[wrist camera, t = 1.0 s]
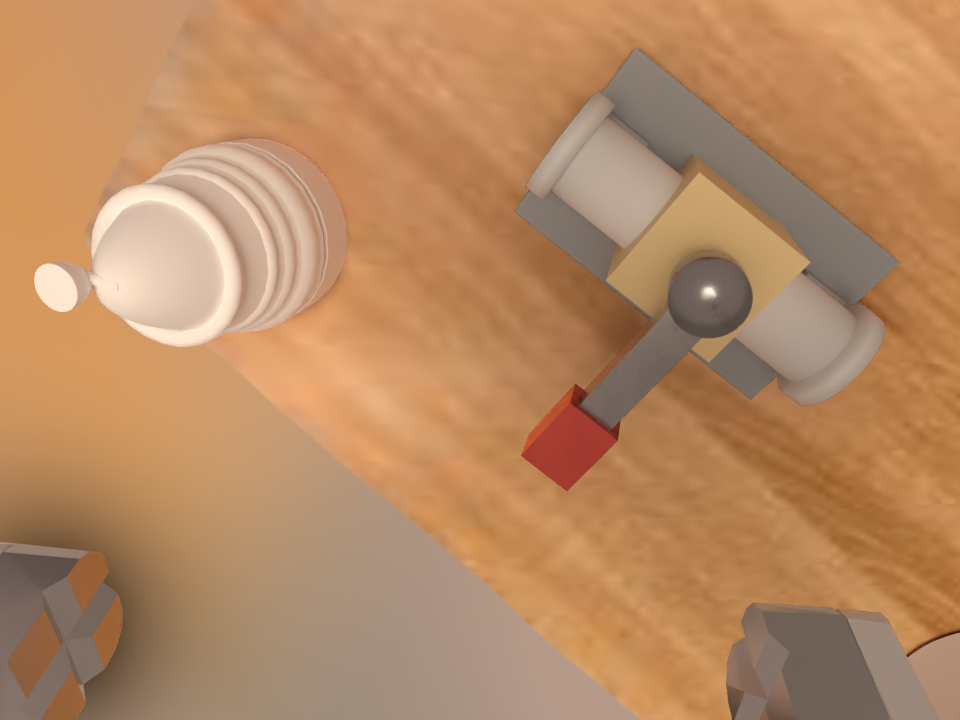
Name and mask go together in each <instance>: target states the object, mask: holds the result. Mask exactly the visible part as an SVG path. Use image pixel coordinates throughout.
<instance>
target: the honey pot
mask: <svg viewBox="0 0 960 720" xmlns="http://www.w3.org/2000/svg"><path fill="white" fill-rule="evenodd" d="M346 250H347V234H346V222H345V218H344V215H343V211H342V208H341V204H340V201H339V199H338V197H337V195H336V194H335V192H334V190H333V188H332V186H331V184H330V183H329V181H328V179H327V178H326V177H325V176H324V175H323V174H322V172H321V171H320V170H319V169H318V168H317V167H316V166H315V165H314V163H313V162H312V161H311V160H309V159H308V158H306V157H305V156H303V155H302V154H300V153H299V152H298V151H296V150H295V149H293V148H292V147H289V146H286V145H284V144H281V143H278V142H275V141H273V140H268V139H253V138H247V139H241V140H234V141H227V142H222V143H216V144H208V145H204V146H200V147H197V148H193V149H189V150H187V151H185V152H183V153H182V154H180V155H179V156H177V157H175V158H174V159H172V160H171V161H169V162H168V163H166V164H165V165H164V167H163V168H162V169H161V171H160V172H159V173H157V174H155V175H154V176H153V177H152V178H150V179H149V180H147V181H146V182H144V183H142V184H138V185H134V186H129V187H126V188H124V189H123V190H121V191H120V192H118V193H117V194H115V195H114V196H112V197H111V198H110V199H109V200H108V201H107V203H106V204H105V205H104V207H103V208H102V209H101V211H100V212H99V214H98V217H97V220H96V223H95V226H94V228H93V231H92V245H91V254H92V258H93V261H92V265H91V272H90V271H87V270H83V269H81V268H80V267H78V266H76V265H73V264H70V263H64V262H57V263H56V262H55V263H48V264H45V265H42V266H40V267H39V268H38V270H37V271H36V273H35V278H34V280H35V281H34V283H35V287H36V291H37V293H38V295H39V297H40V298H41V299H42V301H43V302H44V303H45V304H46V305H47V306H49V307H50V308H52V309H54V310H56V311H60V312H66V311H69V310H71V309H73V308H75V307H76V306H78V305H80V304H81V303H82V302H83V301H84V300H85V298H86V297H87V296H88V294H89V291H90V287H91V284H92V286H93V289H94V292H95V294H96V295H97V297H98V299H99V300H100V301H101V302H102V303H103V304H104V305H105V307H107V308H108V309H109V310H111V311H112V312H114V313H115V314H116V315H118V316H120V317H122V318H123V319H124V320H125V321H126V322H127V324H128V325H130V326H131V327H132V328H134V329H135V330H137V331H139V332H140V333H141V334H143V335H144V336H146V337H148V338H150V339H153V340H155V341H158V342H160V343H163V344H165V345H172V346H179V347H189V346H195V345H202V344H205V343H207V342H209V341H211V340H213V339H215V338H217V337H219V336H220V335H221V334H223V333H229V332H243V333H246V332H253V331H259V330H265V329H270V328H272V327H274V326H276V325H278V324H280V323H282V322H284V321H286V320H288V319H289V318H290V317H292V316H294V315H295V314H297V313H299V312H301V311H302V310H304V309H305V308H307V307H308V306H310V305H311V304H313V303H314V302H316V301H318V300H319V299H320V298H321V297H322V296H323V295H324V294H325V293H326V292H327V291H328V290H329V289H330V288H331V287H332V286H333V285H334V283H335V281H336V279H337V277H338V275H339V274H340V272H341V270H342V267H343V263H344V258H345V254H346Z"/></svg>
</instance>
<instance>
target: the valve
mask: <svg viewBox="0 0 960 720" xmlns="http://www.w3.org/2000/svg"><path fill="white" fill-rule="evenodd" d="M526 188H528V189H529V190H530V191H529V192H528V193H527V195H526V196H525V197H524V199H523V200H522V201H521V203H520V204H519V205H518V207H517V208H516V209H515V211H514V212H515V213H517V214H518V215H519V216H520V217H522V218H523V219H524V220H525V221H527V222H528V223H529V224H530V225H532V226H533V227H534V228H535V229H537V230H538V231H539V232H540V233H542V234H543V235H544V236H545V237H547V238H548V239H549V240H550V241H552V242H553V243H554V244H556V245H557V246H558V247H559V248H561V249H562V250H563V251H564V252H566V253H567V254H568V255H569V256H571V257H572V258H573V259H574V260H576V261H577V262H578V263H579V264H581V265H582V266H583V267H584V268H586V269H587V270H588V271H589V272H591V273H592V274H593V275H595V276H596V277H597V278H598V279H600V280H601V281H602V282H603V283H605V284H606V285H607V286H608V287H610V288H611V289H612V290H613V291H615V292H616V293H617V294H618V295H620V296H621V297H622V298H623V299H625V300H626V301H627V302H628V303H630V304H631V305H632V306H633V307H635V308H636V309H637V310H639V311H640V312H641V313H642V314H644V315H645V316H646V317H647V318H649V319H651V318H652V317H653V316H654V315H655V314H656V313H657V312H658V311H659V310H660V308H661V307H662V306H663V305H664V304H665V303H666V302H667V301H668V281H669V277H670V275H671V273H672V271H673V269H674V268H675V267H676V265H677V264H678V263H679V262H680V261H681V260H682V259H684V258H685V257H687V256H688V255H690V254H693V253H695V252H698V251H703V250H716V251H721V252H724V253H727V254H729V255H731V256H732V257H734V258H735V259H736V260H737V261H738V262H739V263H740V264H741V265H742V267H743V268H744V270H745V272H746V275H747V277H748V280H749V282H750V285H751V288H752V293H753V303H752V308H751V311H750V313H749V315H748V317H747V318H746V320H745V321H744V322H743V324H742V325H741V326H740V327H738V328H737V329H736V330H734V331H733V332H731V333H729V334H727V335H725V336H722V337H718V338H701V339H700V340H699V341H698V342H697V343H696V344H695V345H694V346H693V347H692V348H691V349H690V350H689V351H690V352H691V353H693V354H694V355H695V356H696V357H698V358H699V359H700V360H701V361H703V362H704V363H705V364H706V365H708V366H709V367H710V368H711V369H713V370H714V371H715V372H717V373H718V374H719V375H720V376H722V377H723V378H724V379H725V380H727V381H728V382H729V383H730V384H732V385H733V386H734V387H735V388H737V389H738V390H739V391H740V392H742V393H743V394H744V395H745V396H747V397H748V398H749V399H750V400H751V399H752V398H753V397H754V396H756V395H757V394H758V393H759V392H760V391H761V390H762V389H763V388H764V387H765V386H766V385H767V384H769V383H770V382H771V381H772V380H773V379H774V378H775V377H776V376H777V375H778V374H779V375H778V387H779V389H780V390H781V391H782V392H783V393H785V394H786V395H787V396H788V397H790V398H791V399H792V400H793V401H795V402H796V403H797V404H799V405H803V406H809V405H814V404H817V403H819V402H822V401H824V400H826V399H828V398H830V397H831V396H833V395H835V394H836V393H838V392H839V391H840V390H842V389H843V388H844V387H846V386H847V385H848V384H849V383H850V382H852V381H853V380H854V379H855V378H856V377H857V376H858V375H859V374H860V373H861V372H862V371H863V370H864V368H865V367H866V366H867V365H868V364H869V362H870V361H871V360H872V358H873V357H874V355H875V354H876V352H877V351H878V349H879V347H880V345H881V343H882V340H883V337H884V333H885V325H884V322H883V321H882V320H881V319H880V318H879V317H877V316H876V315H875V314H874V313H873V312H871V311H870V310H869V309H868V308H866V307H865V306H864V305H862V304H855V303H857V302H858V301H859V300H860V299H861V298H862V297H863V296H864V295H865V294H866V293H867V292H869V291H870V290H871V289H872V288H873V287H874V286H875V285H876V284H877V283H878V282H879V281H880V280H882V279H883V278H884V277H885V276H886V275H887V274H888V273H889V272H890V271H891V270H892V269H894V268H895V267H896V266H897V265H898V264H899V263H900V262H899V261H898V260H897V259H895V258H894V257H893V256H892V255H891V254H889V253H888V252H887V251H886V250H884V249H883V248H882V247H881V246H880V245H878V244H877V243H876V242H875V241H873V240H872V239H871V238H870V237H868V236H867V235H866V234H865V233H864V232H862V231H861V230H860V229H859V228H857V227H856V226H855V225H854V224H852V223H851V222H850V221H849V220H848V219H846V218H845V217H844V216H843V215H841V214H840V213H839V212H838V211H837V210H835V209H834V208H833V207H832V206H830V205H829V204H828V203H827V202H825V201H824V200H823V199H822V198H821V197H819V196H818V195H817V194H816V193H814V192H813V191H812V190H811V189H809V188H808V187H807V186H806V185H805V184H803V183H802V182H801V181H800V180H798V179H797V178H796V177H795V176H794V175H792V174H791V173H790V172H789V171H787V170H786V169H785V168H784V167H782V166H781V165H780V164H779V163H778V162H776V161H775V160H774V159H773V158H771V157H770V156H769V155H768V154H766V153H765V152H764V151H763V150H762V149H760V148H759V147H758V146H757V145H755V144H754V143H753V142H752V141H751V140H749V139H748V138H747V137H746V136H744V135H743V134H742V133H741V132H739V131H738V130H737V129H736V128H735V127H733V126H732V125H731V124H730V123H728V122H727V121H726V120H725V119H723V118H722V117H721V116H720V115H719V114H717V113H716V112H715V111H714V110H712V109H711V108H710V107H709V106H708V105H706V104H705V103H704V102H703V101H701V100H700V99H699V98H698V97H696V96H695V95H694V94H693V93H692V92H690V91H689V90H688V89H687V88H685V87H684V86H683V85H682V84H680V83H679V82H678V81H677V80H676V79H674V78H673V77H672V76H671V75H669V74H668V73H667V72H666V71H665V70H663V69H662V68H661V67H660V66H658V65H657V64H656V63H655V62H653V61H652V60H651V59H650V58H649V57H647V56H646V55H645V54H644V53H642V52H641V51H640V50H639V49H637V48H636V49H635V50H634V51H633V53H632V54H631V55H630V57H629V58H628V59H627V61H626V62H625V63H624V65H623V66H622V67H621V69H620V70H619V71H618V73H617V74H616V75H615V77H614V78H613V79H612V81H611V82H610V83H609V85H608V86H607V87H606V89H605V90H604V91H603V93H600V92H599V91H597V92H596V93H595V94H594V95H593V96H592V98H591V99H590V100H589V101H588V102H587V103H586V104H585V106H584V107H583V108H582V109H581V111H580V112H579V113H578V114H577V115H576V117H575V118H574V119H573V121H572V122H571V123H570V124H569V126H568V127H567V128H566V130H565V131H564V132H563V133H562V135H561V136H560V137H559V139H558V140H557V141H556V143H555V144H554V145H553V147H552V148H551V150H550V151H549V152H548V154H547V155H546V156H545V158H544V159H543V161H542V162H541V163H540V165H539V166H538V168H537V169H536V171H535V172H534V174H533V175H532V177H531V178H530V180H529V182H528V183H527V185H526Z"/></svg>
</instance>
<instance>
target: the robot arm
mask: <svg viewBox="0 0 960 720" xmlns="http://www.w3.org/2000/svg"><path fill="white" fill-rule="evenodd" d="M108 572H109V569H108V567H107V564H106V562H105V560H104V557H103V555H102V553H99V552H91V551H82V550H73V549H64V548H54V547H45V546H35V545H27V544H15V543H5V542H0V720H76V718H77V716H78V715H79V713H80V711H81V709H82V708H83V706H84V704H85V702H86V701H85V695H84V687H83V684H84V683H86V682H87V681H88V680H90V679H91V678H92V677H94V676H95V675H97V674H98V673H100V672H101V671H102V670H104V669H105V667H106V665H107V664H108V662H109V660H110V658H111V656H112V654H113V652H114V651H115V649H116V646H117V643H118V639H119V635H120V631H121V628H122V606H121V603H120V600H119V597H118V594H117V593H115V592H114V591H113V590H112V589H111V588H109V587H108V586H107V585H106V584H104V583H103V580H104V578H105V577H106V575H107V574H108ZM741 623H742V626H743V630H744V634H745V637H744V638H743V639H741V640H740V641H738V642H737V643H735V644H733V646H732V649H731V652H730V656H729V659H728V662H727V680H726V686H727V695H728V703H729V707H730V712H731V716H732V720H960V633H957V634H953V635H950V636H946V637H944V638H941V639H938V640H936V641H934V642H931V643H929V644H927V645H925V646H924V647H922V648H920V649H919V650H917V651H916V652H914V653H913V654H912V655H910V656H909V657H908V658H907V656H906V654H905V652H904V650H903V648H902V646H901V644H900V642H899V640H898V638H897V636H896V634H895V632H894V630H893V628H892V626H891V624H890V622H889V620H888V619H886V618H885V617H884V616H883V615H882V614H881V613H878V612H866V611H853V610H841V609H836V610H834V609H832V608H825V607H810V606H795V605H780V604H765V603H752V604H751V605H750V606H749V607H747V608H746V611H745V613H744V616H743V619H742V621H741Z"/></svg>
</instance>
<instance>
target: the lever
mask: <svg viewBox="0 0 960 720" xmlns="http://www.w3.org/2000/svg"><path fill="white" fill-rule="evenodd" d="M752 303H753V293H752V288H751V285H750V282H749V280H748V277H747V275H746V272H745V270H744V268H743V267H742V265H741V264H740V263H739V262H738V261H737V260H736V259H735V258H734V257H732V256H731V255H729V254H727V253H724V252H721V251H716V250H703V251H698V252H695V253H693V254H690V255H688V256H687V257H685V258H684V259H682V260H681V261H680V262H679V263H678V264H677V265H676V267H675V268H674V269H673V271H672V273H671V275H670V277H669V281H668V301H667V302H666V303H665V304H664V305H663V306H662V307H661V308H660V310H659V311H658V312H657V313H656V314H655V315H654V316H653V317H652V318H651V319H650V320H649V321H648V322H647V324H646V325H645V326H644V327H643V328H642V329H641V330H640V331H639V332H638V333H637V334H636V335H635V336H634V338H633V339H632V340H631V341H630V342H629V343H628V344H627V345H626V346H625V347H624V348H623V349H622V350H621V352H620V353H619V354H618V355H617V356H616V357H615V358H614V359H613V360H612V361H611V362H610V363H609V364H608V366H607V367H606V368H605V369H604V370H603V371H602V372H601V373H600V374H599V375H598V376H597V377H596V378H595V380H594V381H593V382H592V383H591V384H590V385H589V386H588V387H587V388H586V389H585V390H583V389H582V388H580V387H579V386H578V385H577V384H575V385H574V386H573V387H572V388H571V389H570V390H569V391H568V392H567V394H566V395H565V396H564V397H563V398H562V399H561V400H560V401H559V402H558V403H557V404H556V406H555V407H554V408H553V409H552V410H551V411H550V412H549V413H548V414H547V415H546V416H545V418H544V419H543V420H542V421H541V422H540V423H539V424H538V425H537V426H536V427H535V428H534V430H533V431H532V432H531V433H530V434H529V436H528V439H527V441H526V444H525V447H524V449H523V452H522V454H521V456H522V457H524V458H525V459H526V460H527V461H529V462H530V463H531V464H533V465H534V466H535V467H536V468H538V469H539V470H540V471H542V472H543V473H544V474H545V475H547V476H548V477H549V478H551V479H552V480H553V481H554V482H556V483H557V484H558V485H560V486H561V487H562V488H563V489H565V490H566V491H568V490H569V489H570V488H571V487H572V486H573V485H574V484H575V483H576V482H577V481H578V480H579V479H580V478H581V477H582V476H583V475H584V474H585V473H586V472H587V471H588V470H589V469H590V468H591V467H592V466H593V465H594V464H595V463H596V462H597V461H598V460H599V459H600V458H601V457H602V456H603V455H604V454H605V453H606V452H607V451H608V450H609V449H610V448H611V447H612V446H613V445H614V444H615V443H616V442H617V441H618V435H619V427H620V420H621V419H622V418H623V417H624V416H625V415H626V414H627V413H628V412H629V411H630V410H631V409H632V408H633V407H634V406H635V405H636V404H637V403H638V402H639V401H640V400H641V399H642V398H643V397H644V396H645V395H646V394H647V393H648V392H649V391H650V390H651V389H652V388H653V387H654V386H655V385H656V384H657V383H658V382H659V381H660V380H661V379H662V378H663V377H664V376H665V375H666V374H667V373H668V372H669V371H670V370H671V369H672V368H673V367H674V366H675V365H676V364H677V363H678V362H679V361H680V360H681V359H682V358H683V357H684V355H685V354H686V353H687V352H688V351H689V350H690V349H691V348H692V347H693V346H694V345H695V344H696V343H697V342H698V341H699V340H700V339H701V338H718V337H722V336H725V335H727V334H729V333H731V332H733V331H734V330H736V329H737V328H738V327H740V326H741V325H742V324H743V322H744V321H745V320H746V318H747V317H748V315H749V313H750V311H751V308H752Z"/></svg>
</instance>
